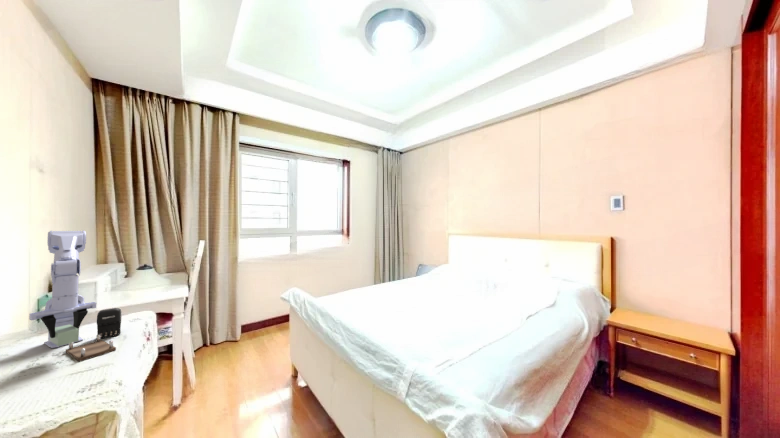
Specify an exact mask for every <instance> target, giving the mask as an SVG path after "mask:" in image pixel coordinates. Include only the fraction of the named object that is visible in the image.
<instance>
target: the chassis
mask: <svg viewBox="0 0 780 438" xmlns="http://www.w3.org/2000/svg"><path fill="white" fill-rule="evenodd" d="M116 350H117V347H116V346H114V340H109V342H106V341H104V340H102V339H100V334H99V335H97V334H96V340H95V341H91V342H89V343H85V344H81V345H78V346H75V347H74V343H73V342H72V343H69V344H68V348H67V349H65V353H66V354H68V356H71V357H72V358H73V359H75V360H77V361H78V362H82V361H86V360H88V359H91V358H95V357H98V356H102V355H104V354H107V353H111V352H115V351H116Z"/></svg>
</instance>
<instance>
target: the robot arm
mask: <svg viewBox="0 0 780 438" xmlns="http://www.w3.org/2000/svg"><path fill="white" fill-rule="evenodd" d="M86 244H87V231H85V229H84V230H83V229H81V230H49V231H48V232H47V247H48V249H47V250H48V252H49V253H50V254H53V262H51V264H50V276H51V284H52V286H51V287H52V289H51V290H52V291H51V292H52V293H51V294H52V295H51V298H50V299H48V300H47V301H46V302H45V308H44V310H41V311H36V312H30V313H29V316H28V317H29V318H28V319H29V320H30V321H36V320H38V319H40V321H42V323H43V324H44V326H45V327H46V329H47V331H48V333H47V335H48V336H47V340H45V341H44V342H43V344H44V345H46V346H47V347H49V348H50V349H55V348H60V347H63V346H66V345H69V343H68V344H64V345H60V346H57V345H56V344H54V343H53V342H51V341H50V337H51V338H55V328H56V327H60V326H65V325H69V324H70V325H72V326H74V327H76V328H78V329H79V330H80V326H81V324H82V322H83V320H84V318H85V317H86V316H87V315H88V312H89V311H88V310H89V309H97V302H96V301H91V302H85V297H84V296H83V295H82V294H79V281H80V279H79V277H80V276H81V271H82V267H81V266H82V261H81V258H80V253H83V252H85V249H86ZM77 274H78V275H77ZM83 340H84V338H82V337H80V336H79V340H78V341H76V342H73V344H74V343H78V342H82V341H83Z"/></svg>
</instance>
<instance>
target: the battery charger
mask: <svg viewBox="0 0 780 438" xmlns="http://www.w3.org/2000/svg"><path fill="white" fill-rule="evenodd" d="M122 312H123V311H122V308H120V307H112V308H104V309H101V310H99V311H98V313H97V314H96V315H97V316H96V329H97V332H96V333H97V334H96V336H97V335H99V334H100V340H102V339H108V338H112V337H117V336H119V335H120V334H121V332H122V331H121V330H122V329H121V327H122V319H123V318H122V317H123V316H122V315H123V314H122Z"/></svg>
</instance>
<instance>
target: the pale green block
mask: <svg viewBox="0 0 780 438" xmlns="http://www.w3.org/2000/svg"><path fill="white" fill-rule="evenodd" d="M79 337H80V328H79V329H78V328H76V327H74V326H72V325H70V324H69V325H65V326H60V327H56V328H55V338H51V337H50V341H51V342H53V343H54V344H56V345H57V346H59V347H61V346H60V345H63V346H65V345H64V344H67V345H69V344H68V343H72V342H74V343H77V342H76V341H78V340H79ZM78 342H79V341H78Z"/></svg>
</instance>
